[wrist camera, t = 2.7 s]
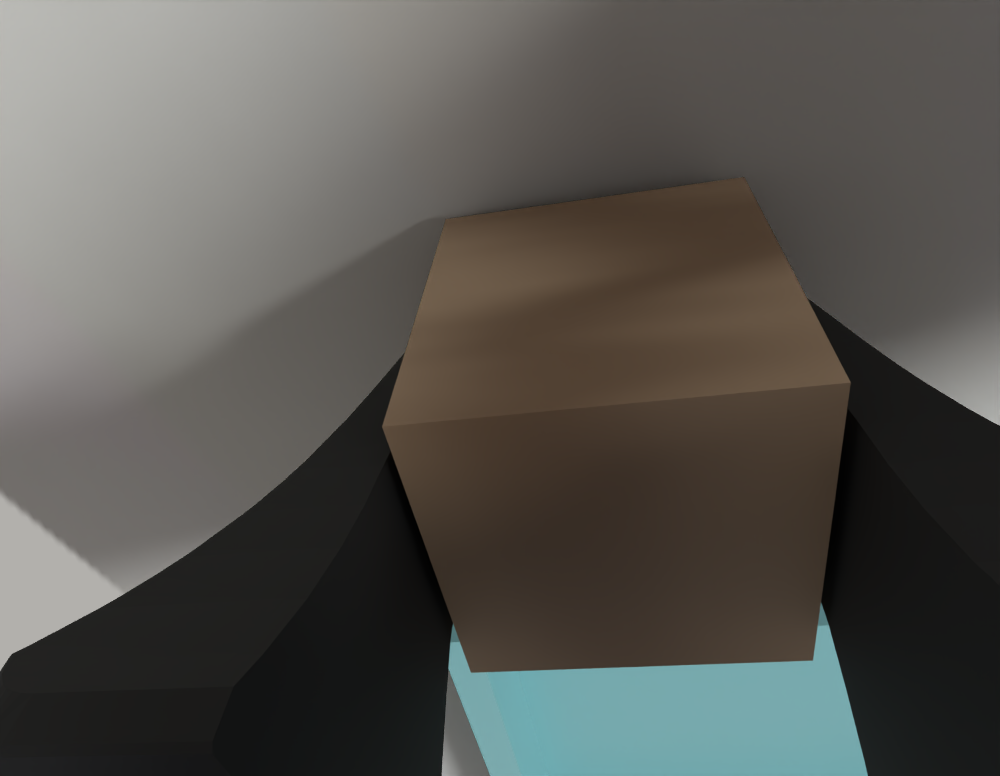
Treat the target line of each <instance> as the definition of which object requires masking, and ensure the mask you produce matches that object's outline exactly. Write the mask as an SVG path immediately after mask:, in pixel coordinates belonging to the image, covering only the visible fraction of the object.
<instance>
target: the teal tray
mask: <svg viewBox="0 0 1000 776" xmlns="http://www.w3.org/2000/svg"><path fill="white" fill-rule="evenodd" d="M448 669H449V672H450V674H451V677H452V679H453V682H454V684H455V687H456V690H457V692H458V695H459V697H460V700H461V702H462V705H463V707H464V710H465V713H466V715H467V718H468V720H469V723H470V725H471V728H472V730H473V733H474V736H475V738H476V741H477V743H478V746H479V748H480V751H481V753H482V756H483V759H484V761H485V764H486V766H487V769H488V771H489V774H490V776H868V774H867V770H866V766H865V761H864V757H863V753H862V750H861V746H860V742H859V738H858V734H857V730H856V726H855V722H854V718H853V714H852V710H851V706H850V702H849V699H848V695H847V691H846V687H845V683H844V680H843V676H842V672H841V668H840V665H839V661H838V657H837V654H836V650H835V646H834V643H833V639H832V635H831V632H830V628H829V624H828V621H827V618H826V615H825V612H824V609H823V606H822V604H821V606H820V613H819V620H818V628H817V635H816V643H815V650H814V657H813V661H791V662H763V663H734V664H706V665H678V666H650V667H621V668H593V669H565V670H537V671H508V672H480V673H471V672H470V669H469V666H468V663H467V661H466V658H465V655H464V652H463V649H462V647H461V644H460V641H459V638H458V636H457V633H456V630H455V627H454V624H453V627H452V634H451V642H450V654H449V667H448Z"/></svg>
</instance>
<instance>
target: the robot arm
mask: <svg viewBox="0 0 1000 776" xmlns="http://www.w3.org/2000/svg"><path fill="white" fill-rule="evenodd" d="M808 301H809V303H810V305H811V307H812V309H813V311H814V313H815V315H816V317H817V319H818V320H819V322H820V324H821V326H822V328H823V330H824V332H825V334H826V336H827V338H828V340H829V342H830V344H831V346H832V347H833V349H834V351H835V353H836V355H837V357H838V359H839V361H840V363H841V365H842V367H843V369H844V371H845V373H846V374H847V376H848V378H849V380H850V382H851V384H850V392H849V399H848V406H847V414H846V421H845V428H844V436H843V443H842V451H841V458H840V465H839V473H838V480H837V488H836V495H835V502H834V510H833V517H832V524H831V532H830V539H829V547H828V554H827V561H826V569H825V576H824V583H823V591H822V598H821V604H822V606H823V609H824V612H825V615H826V618H827V621H828V624H829V628H830V632H831V635H832V639H833V643H834V646H835V650H836V654H837V657H838V661H839V665H840V668H841V672H842V676H843V680H844V683H845V687H846V691H847V695H848V699H849V702H850V706H851V710H852V714H853V718H854V722H855V726H856V730H857V734H858V738H859V742H860V746H861V750H862V753H863V757H864V761H865V766H866V770H867V774H868V776H1000V426H999V425H997V424H995V423H993V422H991V421H989V420H988V419H986V418H984V417H982V416H980V415H979V414H977V413H975V412H973V411H971V410H970V409H968V408H966V407H964V406H963V405H961V404H960V403H958V402H956V401H955V400H953V399H951V398H950V397H948V396H946V395H945V394H943V393H941V392H940V391H938V390H936V389H935V388H933V387H932V386H930V385H928V384H927V383H925V382H924V381H922V380H920V379H919V378H917V377H916V376H914V375H913V374H911V373H910V372H908V371H907V370H905V369H904V368H902V367H901V366H899V365H898V364H896V363H895V362H893V361H892V360H891V359H889V358H888V357H886V356H885V355H883V354H882V353H881V352H879V351H878V350H876V349H875V348H874V347H872V346H871V345H869V344H868V343H867V342H865V341H864V340H862V339H861V338H860V337H858V336H857V335H856V334H854V333H853V332H852V331H850V330H849V329H848V328H846V327H845V326H844V325H842V324H841V323H840V322H838V321H837V320H836V319H834V318H833V317H832V316H830V315H829V314H828V313H826V312H825V311H824V310H822V309H821V308H820V307H819V306H817V305H816V304H814V303H813V302H812V301H810V300H809V299H808ZM404 354H405V353H404ZM404 354H403V356H402V357H401V358H400V359H399V360H398V361H397V363H396V364H395V365H394V366H393V367H392V368H391V370H390V371H389V372H388V373H387V374H386V375H385V377H384V378H383V379H382V380H381V381H380V383H379V384H378V385H377V386H376V387H375V388H374V389H373V390H372V392H371V393H370V394H369V395H368V396H367V397H366V398H365V400H364V401H363V402H362V403H361V404H360V405H359V406H358V407H357V409H356V410H355V411H354V412H353V413H352V414H351V415H350V416H349V417H348V419H347V420H346V421H345V422H344V423H343V424H342V425H341V426H340V427H339V428H338V429H337V430H336V431H335V432H334V433H333V434H332V435H331V436H330V437H329V438H328V439H327V440H326V441H325V442H324V443H323V444H322V445H321V446H320V447H319V448H318V449H317V450H316V451H315V452H314V453H313V454H312V455H311V456H310V457H309V458H308V459H307V460H306V461H305V462H304V463H303V464H302V465H301V466H300V467H299V468H298V469H296V470H295V471H294V472H293V473H292V474H291V475H290V476H289V477H288V478H286V479H285V480H284V481H283V482H282V483H281V484H280V485H278V486H277V487H276V488H275V489H274V490H272V491H271V492H270V493H269V494H268V495H266V496H265V497H264V498H263V499H262V500H260V501H259V502H258V503H257V504H256V505H254V506H253V507H252V508H251V509H249V510H248V511H247V512H246V513H244V514H243V515H241V516H240V517H239V518H237V519H236V520H235V521H233V522H232V523H230V524H229V525H228V526H226V527H225V528H224V529H222V530H221V531H219V532H218V533H217V534H215V535H214V536H213V537H211V538H210V539H208V540H207V541H206V542H204V543H203V544H202V545H200V546H199V547H197V548H196V549H195V550H193V551H192V552H190V553H189V554H187V555H186V556H184V557H183V558H181V559H180V560H178V561H177V562H175V563H174V564H172V565H170V566H169V567H167V568H166V569H164V570H163V571H161V572H160V573H158V574H157V575H155V576H153V577H152V578H150V579H148V580H147V581H145V582H143V583H142V584H140V585H138V586H137V587H135V588H134V589H132V590H130V591H129V592H127V593H125V594H124V595H122V596H120V597H118V598H117V599H115V600H113V601H112V602H110V603H108V604H106V605H105V606H103V607H101V608H99V609H98V610H96V611H94V612H92V613H90V614H88V615H86V616H84V617H82V618H81V619H79V620H77V621H75V622H73V623H71V624H69V625H67V626H65V627H64V628H62V629H60V630H58V631H56V632H55V633H52V634H50V635H48V636H47V637H45V638H43V639H41V640H39V641H37V642H35V643H33V644H32V645H30V646H27V647H26V648H23V649H21V650H19V651H17V652H15V653H13V654H12V655H11V656H10V658H9V659H8V660H7V662H6V663H5V665H4V666H3V668H2V669H1V671H0V776H442V756H443V740H444V724H445V707H446V693H447V680H448V667H449V654H450V642H451V634H452V627H453V622H452V619H451V616H450V613H449V611H448V608H447V605H446V602H445V600H444V597H443V594H442V591H441V588H440V586H439V583H438V580H437V577H436V575H435V572H434V569H433V566H432V564H431V561H430V558H429V555H428V552H427V550H426V547H425V544H424V541H423V539H422V536H421V533H420V530H419V528H418V525H417V522H416V519H415V516H414V514H413V511H412V508H411V505H410V503H409V500H408V497H407V494H406V492H405V489H404V486H403V483H402V480H401V478H400V475H399V472H398V469H397V467H396V464H395V461H394V458H393V456H392V453H391V450H390V447H389V444H388V442H387V439H386V436H385V433H384V431H383V428H382V426H383V422H384V419H385V416H386V412H387V409H388V406H389V403H390V399H391V396H392V393H393V390H394V386H395V383H396V380H397V377H398V373H399V370H400V367H401V364H402V360H403V357H404Z"/></svg>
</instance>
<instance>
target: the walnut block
mask: <svg viewBox="0 0 1000 776" xmlns="http://www.w3.org/2000/svg"><path fill="white" fill-rule="evenodd" d="M850 384H851V382H850V380H849V378H848V376H847V374H846V373H845V371H844V369H843V367H842V365H841V363H840V361H839V359H838V357H837V355H836V353H835V351H834V349H833V347H832V346H831V344H830V342H829V340H828V338H827V336H826V334H825V332H824V330H823V328H822V326H821V324H820V322H819V320H818V319H817V317H816V315H815V313H814V311H813V309H812V307H811V305H810V303H809V301H808V299H807V297H806V295H805V293H804V292H803V290H802V288H801V286H800V284H799V282H798V280H797V278H796V276H795V274H794V272H793V270H792V268H791V266H790V265H789V263H788V261H787V259H786V257H785V255H784V253H783V251H782V249H781V247H780V245H779V243H778V241H777V239H776V238H775V236H774V234H773V232H772V230H771V228H770V226H769V224H768V222H767V220H766V218H765V216H764V214H763V212H762V211H761V209H760V207H759V205H758V203H757V201H756V199H755V197H754V195H753V193H752V191H751V189H750V187H749V185H748V184H747V182H746V180H745V178H744V177H740V178H733V179H726V180H719V181H712V182H705V183H698V184H691V185H684V186H677V187H670V188H663V189H655V190H648V191H641V192H634V193H627V194H620V195H613V196H606V197H599V198H592V199H585V200H578V201H570V202H563V203H556V204H549V205H542V206H535V207H528V208H521V209H514V210H507V211H500V212H493V213H485V214H478V215H471V216H464V217H457V218H450V219H446V220H445V223H444V227H443V230H442V233H441V237H440V240H439V243H438V246H437V250H436V253H435V256H434V259H433V263H432V266H431V269H430V272H429V276H428V279H427V282H426V285H425V289H424V292H423V295H422V298H421V302H420V305H419V308H418V311H417V315H416V318H415V321H414V324H413V328H412V331H411V334H410V338H409V341H408V344H407V347H406V351H405V354H404V357H403V360H402V364H401V367H400V370H399V373H398V377H397V380H396V383H395V386H394V390H393V393H392V396H391V399H390V403H389V406H388V409H387V412H386V416H385V419H384V422H383V426H382V428H383V431H384V433H385V436H386V439H387V442H388V444H389V447H390V450H391V453H392V456H393V458H394V461H395V464H396V467H397V469H398V472H399V475H400V478H401V480H402V483H403V486H404V489H405V492H406V494H407V497H408V500H409V503H410V505H411V508H412V511H413V514H414V516H415V519H416V522H417V525H418V528H419V530H420V533H421V536H422V539H423V541H424V544H425V547H426V550H427V552H428V555H429V558H430V561H431V564H432V566H433V569H434V572H435V575H436V577H437V580H438V583H439V586H440V588H441V591H442V594H443V597H444V600H445V602H446V605H447V608H448V611H449V613H450V616H451V619H452V622H453V624H454V627H455V630H456V633H457V636H458V638H459V641H460V644H461V647H462V649H463V652H464V655H465V658H466V661H467V663H468V666H469V669H470V672H471V673H480V672H508V671H537V670H565V669H593V668H621V667H650V666H678V665H706V664H734V663H763V662H791V661H813V657H814V650H815V643H816V635H817V628H818V620H819V613H820V606H821V598H822V591H823V583H824V576H825V569H826V561H827V554H828V547H829V539H830V532H831V524H832V517H833V510H834V502H835V495H836V488H837V480H838V473H839V465H840V458H841V451H842V443H843V436H844V428H845V421H846V414H847V406H848V399H849V392H850Z"/></svg>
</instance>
